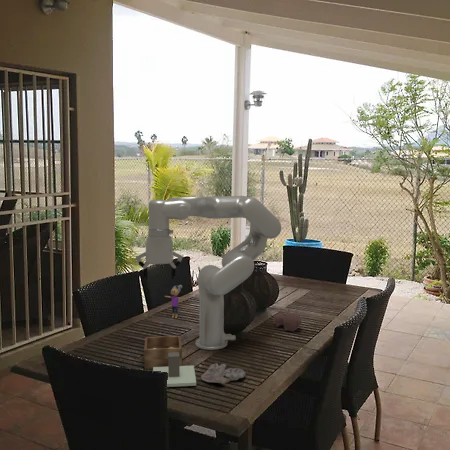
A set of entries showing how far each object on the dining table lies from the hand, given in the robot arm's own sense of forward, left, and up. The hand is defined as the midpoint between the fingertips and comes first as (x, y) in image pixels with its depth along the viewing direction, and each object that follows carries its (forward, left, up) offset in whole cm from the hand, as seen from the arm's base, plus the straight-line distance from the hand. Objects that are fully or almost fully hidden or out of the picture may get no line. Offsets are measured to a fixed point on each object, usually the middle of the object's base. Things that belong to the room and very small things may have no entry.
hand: (159, 278), depth 198 cm
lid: (-5, +26, -28) cm, 38 cm away
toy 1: (-7, -42, -28) cm, 51 cm away
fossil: (-21, +26, -29) cm, 44 cm away
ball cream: (+2, +8, -26) cm, 27 cm away
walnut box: (-1, +10, -28) cm, 30 cm away
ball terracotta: (-4, +7, -26) cm, 27 cm away
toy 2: (-55, -21, -29) cm, 65 cm away
